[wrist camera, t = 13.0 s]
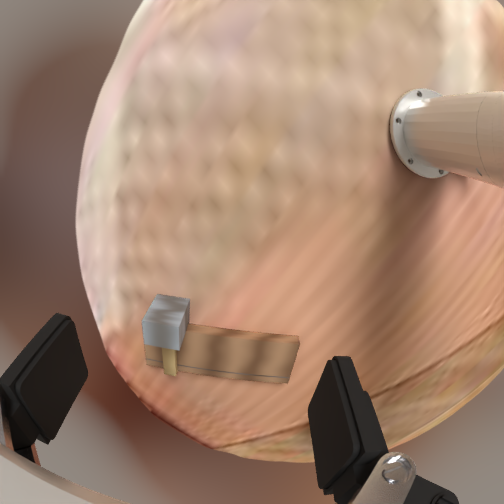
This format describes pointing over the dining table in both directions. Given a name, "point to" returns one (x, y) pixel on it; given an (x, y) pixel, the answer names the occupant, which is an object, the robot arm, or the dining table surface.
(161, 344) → the wooden handled gray mallet
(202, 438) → the dining table surface
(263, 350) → the board
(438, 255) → the dining table surface
